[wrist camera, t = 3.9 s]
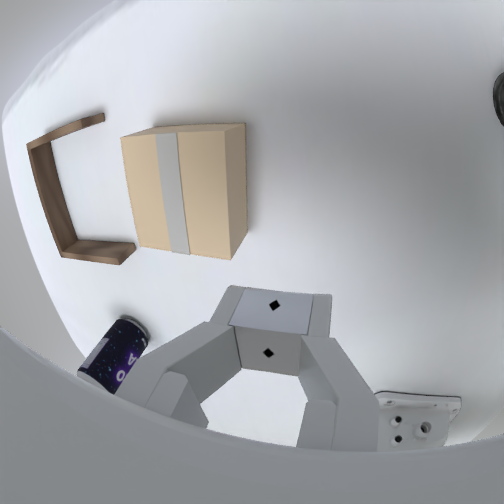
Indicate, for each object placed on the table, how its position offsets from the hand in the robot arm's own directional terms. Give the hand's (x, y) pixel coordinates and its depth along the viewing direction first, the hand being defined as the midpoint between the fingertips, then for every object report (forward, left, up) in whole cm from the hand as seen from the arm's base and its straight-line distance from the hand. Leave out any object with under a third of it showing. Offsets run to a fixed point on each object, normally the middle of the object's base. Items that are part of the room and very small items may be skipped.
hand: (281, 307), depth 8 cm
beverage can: (+24, +21, -14) cm, 35 cm away
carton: (+9, 0, -14) cm, 17 cm away
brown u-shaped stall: (+23, 0, -14) cm, 27 cm away
